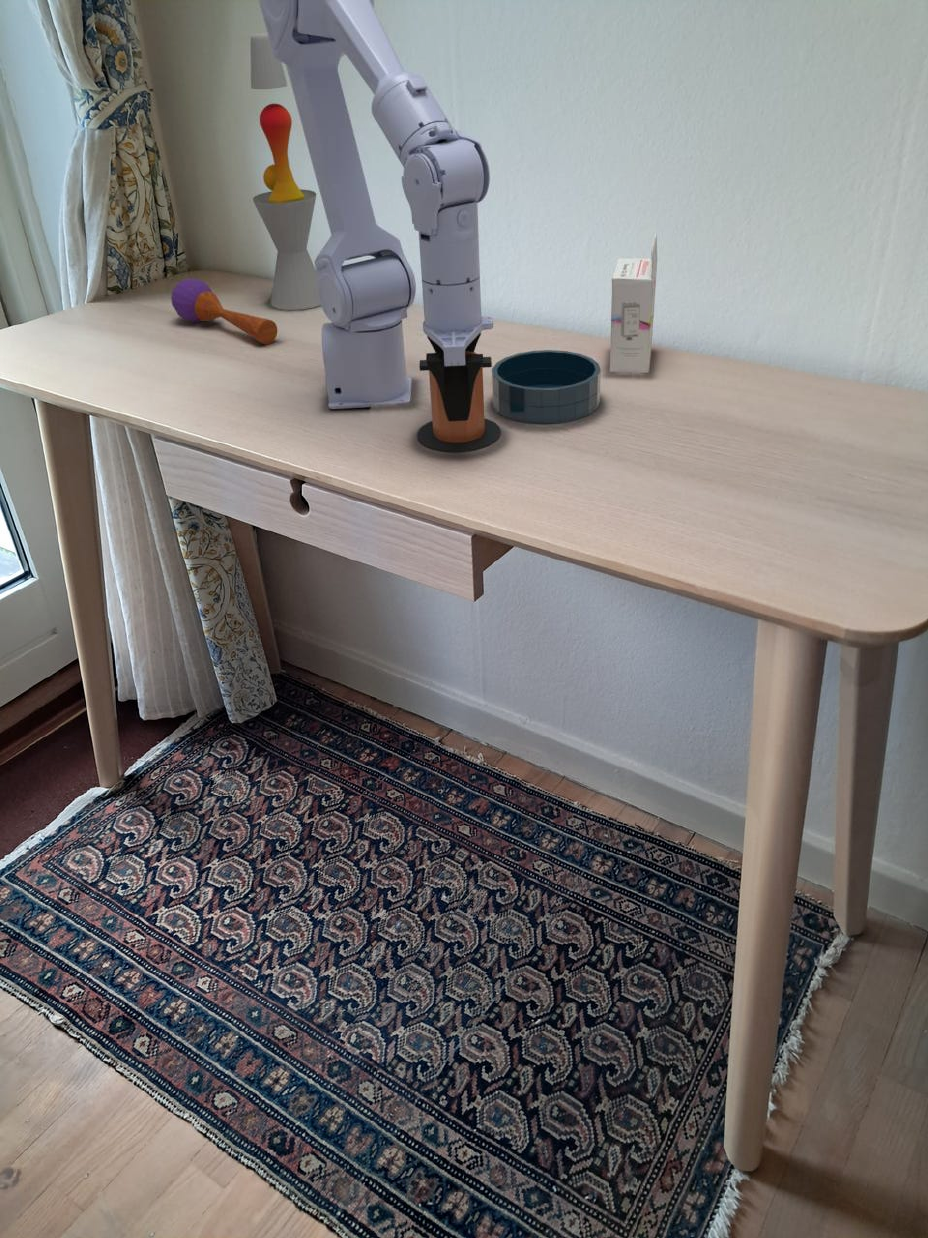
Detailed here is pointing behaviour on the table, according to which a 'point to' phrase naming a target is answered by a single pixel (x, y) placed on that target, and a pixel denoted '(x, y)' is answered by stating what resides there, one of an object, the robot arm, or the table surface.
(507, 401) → the blue shallow round container
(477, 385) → the small pot
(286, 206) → the lava lamp
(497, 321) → the table surface
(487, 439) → the disc
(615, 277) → the ink cartridge box
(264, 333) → the maraca
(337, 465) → the table surface
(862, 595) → the table surface
